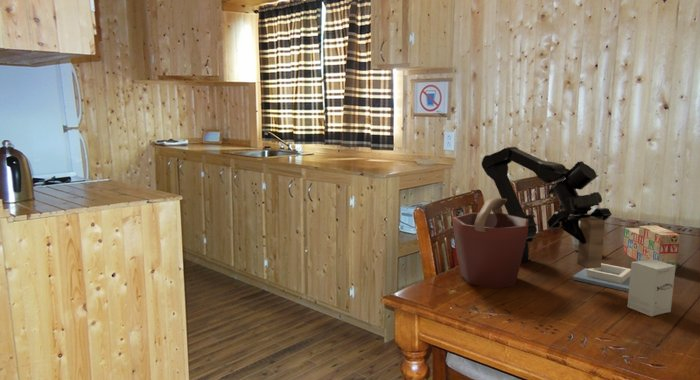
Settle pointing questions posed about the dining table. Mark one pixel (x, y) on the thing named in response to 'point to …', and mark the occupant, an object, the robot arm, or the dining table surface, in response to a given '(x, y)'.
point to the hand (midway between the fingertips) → (591, 242)
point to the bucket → (490, 245)
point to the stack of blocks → (651, 244)
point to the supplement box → (651, 287)
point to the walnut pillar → (591, 243)
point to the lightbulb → (575, 242)
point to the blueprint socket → (606, 276)
